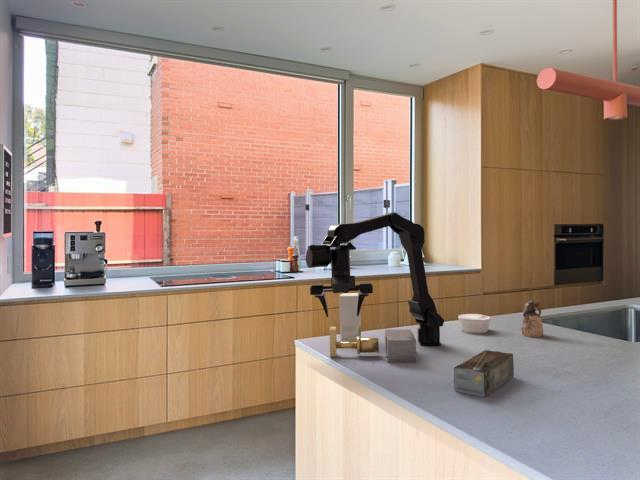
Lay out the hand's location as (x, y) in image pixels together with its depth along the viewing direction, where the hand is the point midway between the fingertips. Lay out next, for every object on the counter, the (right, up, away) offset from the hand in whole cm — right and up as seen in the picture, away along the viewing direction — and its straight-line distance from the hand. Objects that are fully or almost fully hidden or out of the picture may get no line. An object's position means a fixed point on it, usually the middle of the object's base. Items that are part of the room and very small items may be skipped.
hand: (342, 316), depth 145 cm
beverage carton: (+34, -12, -28) cm, 45 cm away
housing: (+17, -11, -2) cm, 21 cm away
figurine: (+67, -10, +21) cm, 71 cm away
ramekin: (+50, -10, +29) cm, 58 cm away
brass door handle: (+3, -11, -1) cm, 12 cm away
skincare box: (+4, -11, +20) cm, 23 cm away
